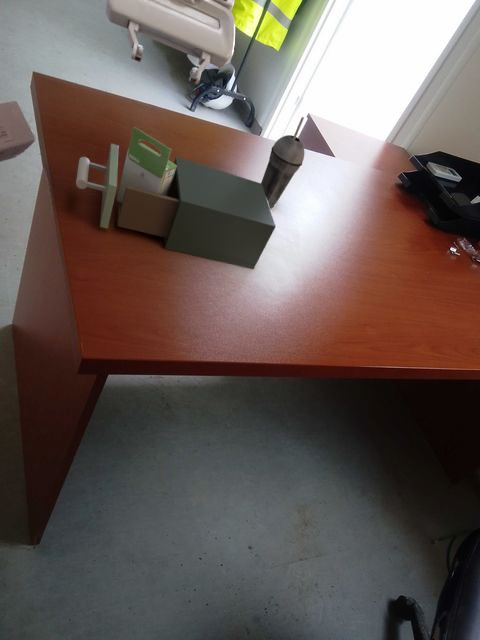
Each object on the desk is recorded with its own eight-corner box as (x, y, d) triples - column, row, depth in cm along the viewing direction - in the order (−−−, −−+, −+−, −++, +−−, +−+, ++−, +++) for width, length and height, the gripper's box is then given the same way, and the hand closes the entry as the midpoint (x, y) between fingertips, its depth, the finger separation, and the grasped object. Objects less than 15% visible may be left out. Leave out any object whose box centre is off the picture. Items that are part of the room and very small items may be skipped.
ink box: (162, 215, 80) (184, 144, 71) (149, 222, 77) (171, 150, 68) (129, 193, 80) (146, 120, 71) (115, 200, 77) (132, 125, 68)
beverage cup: (284, 207, 106) (327, 125, 93) (269, 214, 101) (311, 128, 88) (261, 189, 107) (300, 105, 94) (244, 195, 102) (282, 107, 89)
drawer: (70, 220, 71) (77, 175, 66) (76, 177, 79) (82, 134, 74) (193, 248, 80) (207, 211, 74) (187, 207, 87) (200, 171, 82)
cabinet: (164, 249, 78) (181, 200, 71) (161, 203, 86) (175, 156, 80) (253, 269, 85) (275, 226, 78) (242, 225, 93) (261, 183, 87)
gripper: (114, -65, 66) (99, 32, 66) (244, 0, 74) (230, 85, 75) (109, -35, 71) (96, 54, 72) (230, 21, 80) (218, 100, 80)
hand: (166, 70), depth 73 cm, fingers open, 8 cm apart
